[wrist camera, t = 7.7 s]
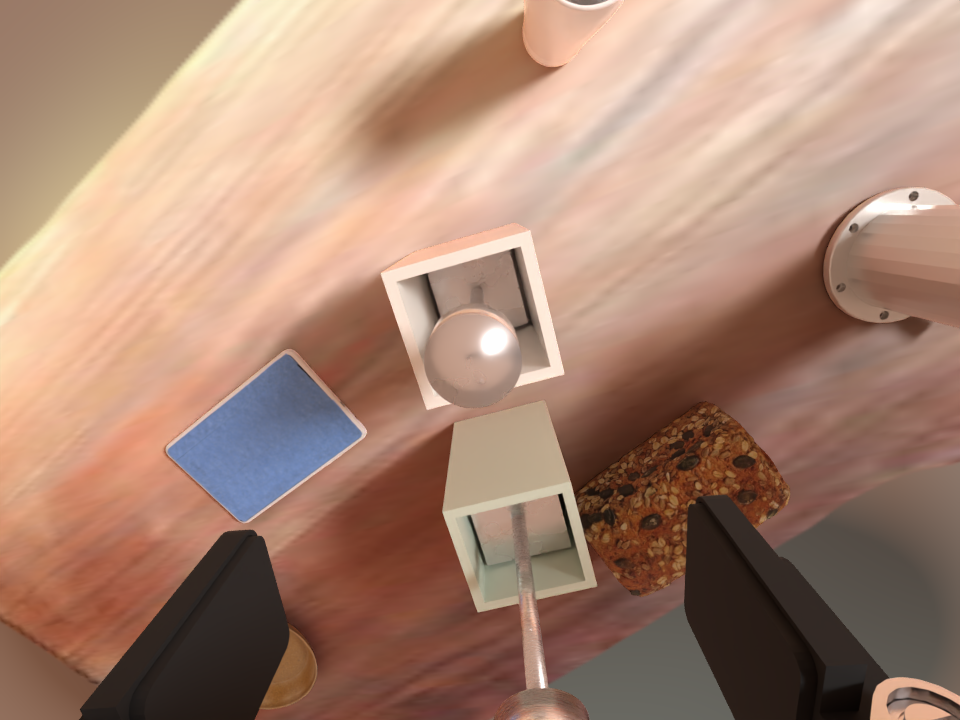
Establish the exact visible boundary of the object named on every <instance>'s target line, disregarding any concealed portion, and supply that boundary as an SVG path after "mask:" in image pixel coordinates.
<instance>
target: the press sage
mask: <svg viewBox="0 0 960 720" xmlns="http://www.w3.org/2000/svg"><path fill="white" fill-rule="evenodd" d="M556 494H558V498H559V501H560V505H561V509H562V513H563V517H564V520H565V524H566V528H567V532H568V535H569V539H570V543H571V547H569V548H564V549H560V550H555V551H551V552H546V553H542V554H538V555H533V556H531V564H532V571H533V579H534V586H535V593H536V600H537V599H542V598H546V597H551V596H556V595H560V594H565V593H569V592H574V591H579V590H583V589H588V588H592V587H597V583H596V579H595V575H594V571H593V567H592V563H591V559H590V556H589V552H588V548H587V544H586V540H585V536H584V532H583V528H582V524H581V520H580V516H579V512H578V508H577V504H576V501H575V497H574V493H573V489H572V485H571V481H570V478H569V475H568V472H567V468H566V465H565V462H564V459H563V456H562V453H561V450H560V446H559V443H558V440H557V437H556V434H555V431H554V428H553V424H552V421H551V418H550V415H549V412H548V409H547V406H546V403H545V400H541V401H537V402H533V403H529V404H525V405H521V406H517V407H514V408H510V409H506V410H502V411H498V412H494V413H490V414H486V415H482V416H478V417H474V418H470V419H466V420H462V421H459V422H455V423H454V429H453V436H452V444H451V451H450V458H449V466H448V473H447V481H446V488H445V496H444V503H443V511H442V513H443V515H444V518H445V521H446V524H447V527H448V529H449V532H450V535H451V538H452V541H453V544H454V546H455V549H456V552H457V555H458V558H459V561H460V563H461V566H462V569H463V572H464V575H465V578H466V580H467V583H468V586H469V589H470V592H471V595H472V597H473V600H474V603H475V606H476V609H477V611H478V612H482V611H487V610H491V609H496V608H501V607H505V606H510V605H514V604H519V597H518V586H517V575H516V564H515V560H511V561H507V562H502V563H498V564H493V565H489V566H488V565H487V562H486V559H485V556H484V553H483V550H482V547H481V544H480V541H479V538H478V535H477V532H476V529H475V526H474V523H473V520H472V517H471V514H476V513H480V512H484V511H488V510H493V509H497V508H501V507H505V506H509V505H514V504H518V503H522V502H526V501H531V500H535V499H539V498H543V497H548V496H552V495H556Z"/></svg>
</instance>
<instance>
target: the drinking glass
mask: <svg viewBox="0 0 960 720" xmlns="http://www.w3.org/2000/svg"><path fill="white" fill-rule="evenodd" d="M624 1H625V0H524V21H523V29H522V34H523V41H524V45H525V48H526V50H527V52H528V53H529V55H530V56H531V57H532V58H533V59H534V60H535V61H536V62H537V63H539V64H541V65H543V66H547V67H558V66H562V65H564V64H566V63H568V62H570V61H571V60H572V59H573V58H574V57H575V56H576V55H577V54H578V53H579V51H580V50H581V48H582V47H583V46H584V45H585V44H586V43H587V42H588V41H589V40H590V39H591V38H592V37H593V36H594V35H595V34H596V33H597V32H598V31H599V30H600V29H601V28H602V27H603V26H604V25H605V24H606V23H607V22H608V21H609V20H610V19H611V18H612V17H613V16H614V14H615V13H616V12H617V11H618V9H619V8H620V7H621V5H622V4H623V2H624Z"/></svg>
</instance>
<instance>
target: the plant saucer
mask: <svg viewBox="0 0 960 720" xmlns="http://www.w3.org/2000/svg"><path fill="white" fill-rule="evenodd" d="M288 626H289V631H290V636H289V643H288V646H287V649H286V651H285V654H284V656H283V658H282V660H281V662H280V665H279V667H278V669H277V671H276V673H275V675H274V678H273V680H272V682H271V684H270V686H269V689H268V691H267V693H266V695H265V697H264V700H263V702H262V704H261V706H260V708H259V709H277V708H282V707H286V706H289V705H292V704H294V703H296V702H297V701H299V700H301V699H302V698H303V697H305V696H306V695H307V694H308V693H309V692H310V690H311V689H312V688H313V686H314V684H315V681H316V678H317V662H316V658H315V655H314V653H313V650H312V648H311V646H310V644H309V643H308V641H307V640H306V638H305V637H304V636H303V635H302V634H301V633H300V632H299V631H298V630H297V629H296V628H295V627H294V626H292V625H291V624H289V623H288Z"/></svg>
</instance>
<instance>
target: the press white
mask: <svg viewBox="0 0 960 720" xmlns="http://www.w3.org/2000/svg"><path fill="white" fill-rule="evenodd" d="M506 250H510V254H511V257H512V261H513V265H514V269H515V273H516V277H517V281H518V285H519V289H520V293H521V297H522V300H523V304H524V308H525V312H526V316H527V320H528V323H527V324H523V325H520V326H516V327H514V329H515V332H516V335H517V339H518V342H519V346H520V350H521V355H522V369H521V373H520V376H519V379H518V381H517V383H516V385H515V387H517V386H521V385H525V384H529V383H533V382H537V381H541V380H545V379H548V378H552V377H556V376H560V375H564V370H563V366H562V361H561V357H560V353H559V349H558V345H557V341H556V336H555V332H554V328H553V324H552V320H551V316H550V311H549V307H548V303H547V299H546V295H545V291H544V287H543V282H542V278H541V274H540V270H539V266H538V262H537V257H536V253H535V249H534V245H533V241H532V237H531V232H530V230H528V229H526V228H524V227H522V226H520V225H518V224H516V223H511V224H508V225H504V226H501V227H497V228H494V229H490V230H487V231H483V232H480V233H476V234H473V235H469V236H466V237H463V238H459V239H456V240H452V241H449V242H445V243H442V244H438V245H435V246H431V247H428V248H424V249H421V250H418V251H414V252H413V253H411V254H409V255H408V256H406V257H405V258H403V259H402V260H400V261H399V262H397V263H395V264H394V265H392V266H391V267H389V268H388V269H386V270H385V271H383V272H382V273H381V276H382V279H383V282H384V285H385V288H386V291H387V294H388V297H389V300H390V303H391V306H392V309H393V312H394V315H395V318H396V321H397V323H398V326H399V329H400V332H401V335H402V338H403V341H404V344H405V347H406V350H407V353H408V356H409V359H410V362H411V365H412V368H413V371H414V374H415V376H416V379H417V382H418V385H419V388H420V391H421V394H422V397H423V400H424V403H425V406H426V409H427V410H428V409H432V408H436V407H440V406H444V405H448V404H452V403H450V402H448V401H446V400H445V399H443V398H442V397H441V396H440V395H439V394H438V393H437V392H436V391H435V390H434V389H433V388H432V386H431V385H430V383H429V381H428V379H427V376H426V373H425V368H424V354H425V349H426V346H427V344H428V341H429V339H430V336H431V334H432V331H433V329H434V327H435V325H436V323H437V322H438V320H439V319H440V318H441V316H440V313H439V310H438V306H437V303H436V300H435V297H434V294H433V290H432V287H431V284H430V281H429V277H428V274H427V273H429V272H432V271H436V270H439V269H443V268H446V267H450V266H453V265H457V264H460V263H464V262H467V261H471V260H474V259H478V258H481V257H485V256H488V255H492V254H496V253H499V252H503V251H506Z"/></svg>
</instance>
